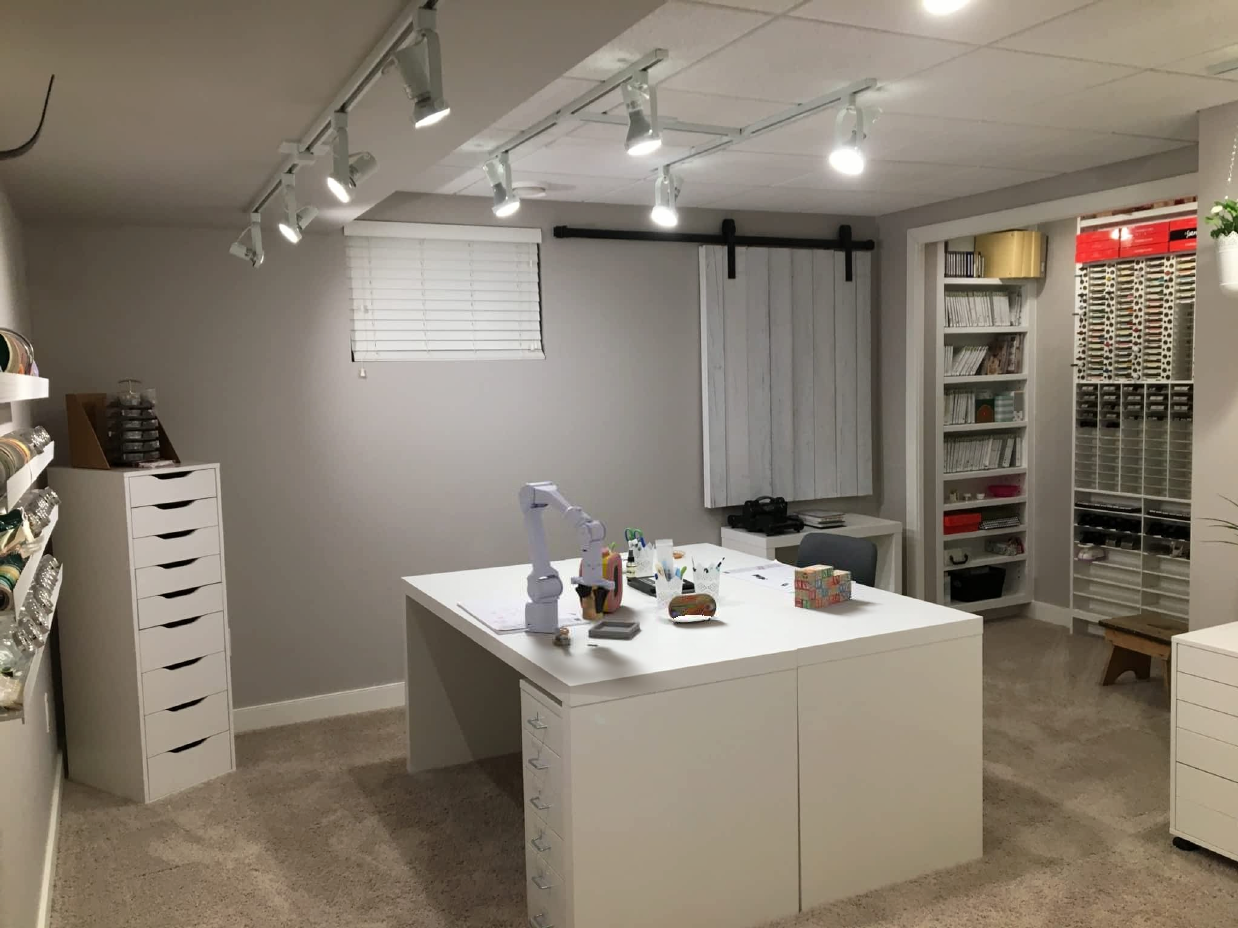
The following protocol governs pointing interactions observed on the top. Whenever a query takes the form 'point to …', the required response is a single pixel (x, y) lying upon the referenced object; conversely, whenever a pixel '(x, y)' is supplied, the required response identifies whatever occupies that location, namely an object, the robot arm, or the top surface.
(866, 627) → the top surface
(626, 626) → the tray
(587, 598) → the stop block
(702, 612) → the tin
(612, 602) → the alarm clock
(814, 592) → the stack of blocks
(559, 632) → the crank
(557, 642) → the crank base
